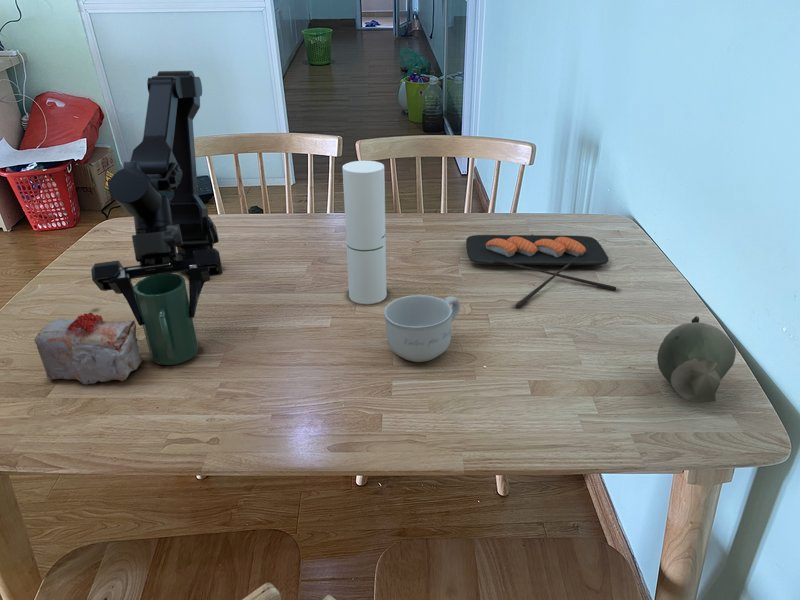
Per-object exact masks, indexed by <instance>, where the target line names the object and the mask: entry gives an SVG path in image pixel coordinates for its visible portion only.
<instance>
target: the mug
mask: <svg viewBox="0 0 800 600" xmlns="http://www.w3.org/2000/svg"><path fill="white" fill-rule="evenodd" d="M133 286H134V293H135V297H136V301H137V305H138V309H139V313H140V317H141V321H142V328H143V332H144V336H145V337H144V338H145V340H146V345H147V348H148V353H149V355H150V359H151V360H152V361H153V362H154V363H156V364H159V365H163V366H172V365H178V364H181V363H184V362H187V361H189V360H190V359H192V358H193V357H194V356H195V355H197V353H198V351H199V343H198V337H197V332H196V327H195V323H194V318H192V317H191V313H190V306H189V292H188V289H187V283H186V279H185V277H183V276H182V275H180V274H177V273H171V274H169V273H164V274H157V275H153V276H149V277H143V278H142V279H141V280H139V281H137V282H136V283H135V284H134V285H133Z"/></svg>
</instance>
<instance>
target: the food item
mask: <svg viewBox="0 0 800 600" xmlns="http://www.w3.org/2000/svg"><path fill="white" fill-rule="evenodd" d="M34 343H35V345H36V349H37V351H38V354H39V357H40V359H41V363H42V365H43V368H44V370H45V374H46V377H47V379H48V380H49V381H52V380H59V379H61V380H78V382H80V383H81V384H83V385H86V386H87V385H89V384H96V383H97V382H102V383H103V382H110V381H120V382H123V381H126V380H127V379H128V377H129V375H130V374H131V373H132V372H133V371H135V370H137V369H138V368H139V366H140V365H141V363H142V356H141V354H140V348H139V347H140V346H139V344H138V338H137V325H136V321H135V320H134V319H133V320H132V319H131V320H105V319H104V318H103V316H102V315H98V314H93V312H88V313H83V314H80V315H77V317H76V318H75V319H73V318H72V319H71V318H67V319H65V318H55V319H54V320H52V321H50V322H48V323H47V324H45V326H44V327H43V328H42V329H41V330H40V331H38V333H37V334H36V335H35V337H34Z"/></svg>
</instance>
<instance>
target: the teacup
mask: <svg viewBox="0 0 800 600" xmlns="http://www.w3.org/2000/svg"><path fill="white" fill-rule="evenodd" d="M460 310H461V303H460V300H459V299H458V298H457V297H455V296H452V295H449V296H447V297H445V298H444V299H442V298H440V297H437V296H433V295H429V294H428V295H427V294H413V295H407V296H402V297H399V298H396V299H394V300H392V301H390V302H389V303H387V304H386V306H385V307H384V309H383V317H384V322H385V333H386V340H387V345H388V347H389V348H390V349H391V351H392V352H393V353H394V354H395V355H397V356H399V357H400V358H402V359H404V360H406V361H409V362H413V363H423V362H429V361H432V360H434V359H436V358H438V357H439V356H440V355H441V354H442V353H444V352H446V350H447V349H448V348H449V346H450V343H451V340H452V331H453V330H452V329H453V328H452V327H453V324H452V323H453V322H454V321H455V319H456V318H457V316H458V315H459V313H460Z"/></svg>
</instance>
